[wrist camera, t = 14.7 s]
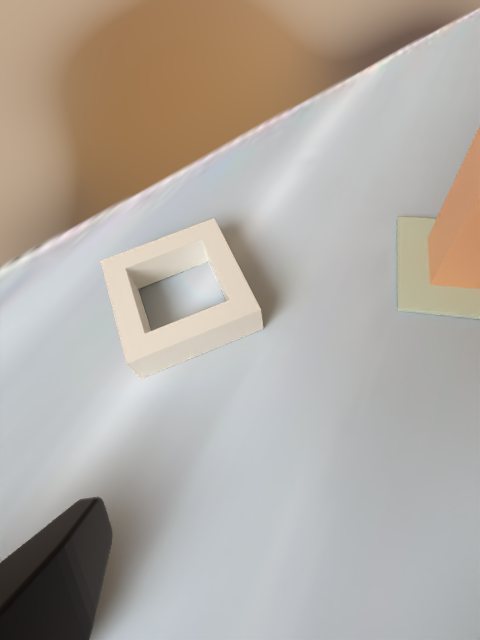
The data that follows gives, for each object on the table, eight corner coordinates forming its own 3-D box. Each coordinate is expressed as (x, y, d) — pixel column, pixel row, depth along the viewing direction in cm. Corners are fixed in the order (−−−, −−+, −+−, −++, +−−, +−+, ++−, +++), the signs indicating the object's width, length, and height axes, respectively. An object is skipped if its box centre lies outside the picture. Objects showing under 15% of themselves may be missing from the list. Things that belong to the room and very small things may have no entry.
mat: (516, 227, 26) (519, 223, 26) (536, 325, 23) (540, 321, 22) (397, 220, 28) (398, 216, 28) (397, 310, 24) (398, 307, 24)
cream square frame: (219, 241, 29) (214, 217, 27) (263, 329, 25) (261, 309, 23) (114, 281, 28) (100, 260, 26) (141, 379, 24) (126, 363, 22)
